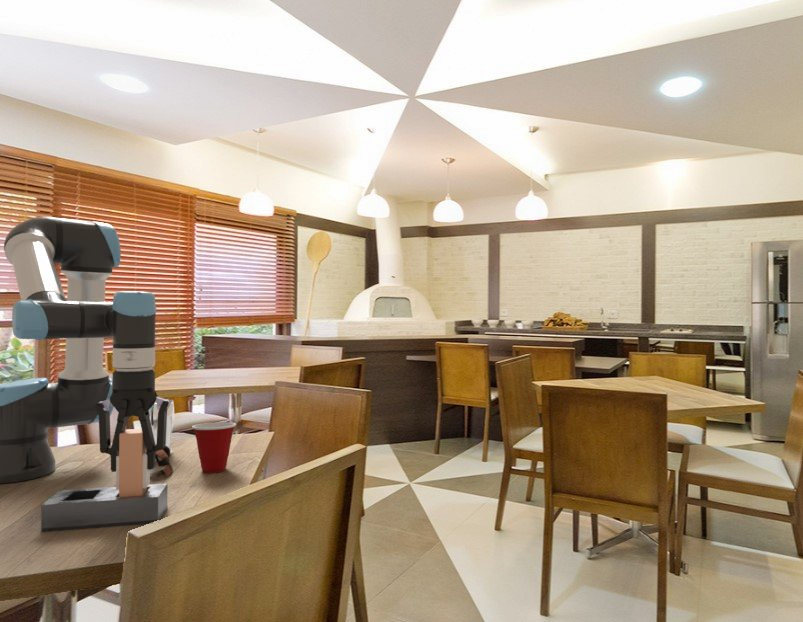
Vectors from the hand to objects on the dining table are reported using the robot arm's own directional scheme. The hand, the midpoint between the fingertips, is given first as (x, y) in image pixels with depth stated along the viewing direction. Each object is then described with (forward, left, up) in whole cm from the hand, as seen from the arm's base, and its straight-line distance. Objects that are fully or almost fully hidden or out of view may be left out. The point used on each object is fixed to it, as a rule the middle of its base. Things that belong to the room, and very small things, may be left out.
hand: (133, 486), depth 102 cm
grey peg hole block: (-4, 0, -6) cm, 8 cm away
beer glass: (-5, +48, -6) cm, 49 cm away
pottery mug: (-3, +29, -6) cm, 30 cm away
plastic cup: (+12, +29, -6) cm, 32 cm away
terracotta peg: (0, 0, -3) cm, 3 cm away
